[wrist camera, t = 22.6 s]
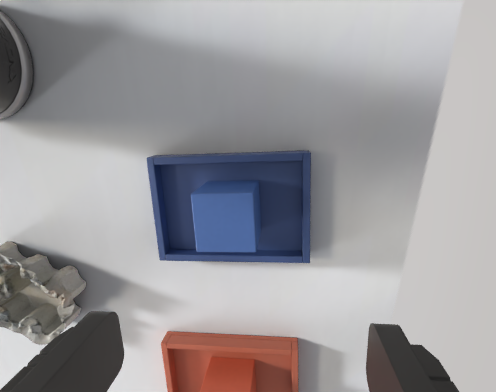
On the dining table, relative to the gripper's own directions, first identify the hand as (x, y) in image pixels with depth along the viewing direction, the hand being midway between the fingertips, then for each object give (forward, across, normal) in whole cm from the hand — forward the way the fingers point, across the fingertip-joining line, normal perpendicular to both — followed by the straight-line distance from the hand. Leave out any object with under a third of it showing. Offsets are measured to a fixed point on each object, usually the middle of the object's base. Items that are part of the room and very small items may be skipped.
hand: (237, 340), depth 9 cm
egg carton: (+17, +24, +9) cm, 31 cm away
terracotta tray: (+17, +4, +18) cm, 25 cm away
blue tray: (+17, +3, 0) cm, 17 cm away
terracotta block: (+16, +4, +18) cm, 25 cm away
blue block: (+16, +3, 0) cm, 17 cm away
